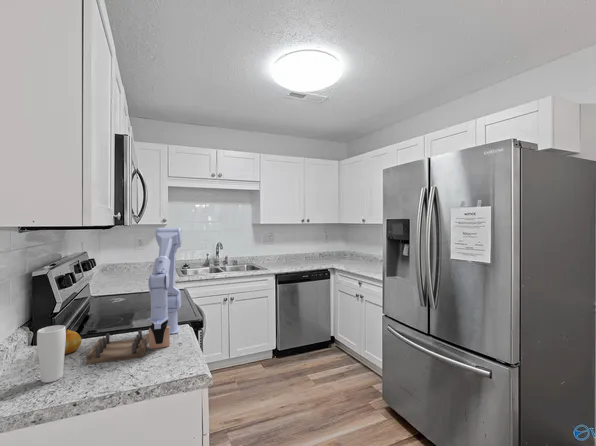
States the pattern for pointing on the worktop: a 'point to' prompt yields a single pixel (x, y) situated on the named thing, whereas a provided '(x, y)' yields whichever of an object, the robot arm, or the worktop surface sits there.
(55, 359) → the drinking glass
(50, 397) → the worktop surface
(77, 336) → the fruit
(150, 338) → the pink square slab
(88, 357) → the rack
